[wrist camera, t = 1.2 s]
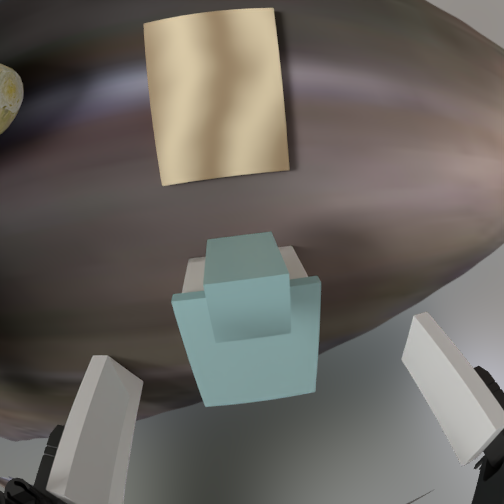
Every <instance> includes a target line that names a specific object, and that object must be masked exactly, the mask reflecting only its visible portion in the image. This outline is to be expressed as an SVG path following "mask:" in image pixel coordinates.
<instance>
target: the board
mask: <svg viewBox="0 0 504 504" xmlns="http://www.w3.org/2000/svg"><path fill="white" fill-rule="evenodd" d="M144 39H145V53H146V66H147V77H148V87H149V96H150V105H151V113H152V121H153V129H154V136H155V143H156V150H157V157H158V163H159V169H160V175H161V181H162V186H166V185H172V184H178V183H185V182H191V181H198V180H205V179H213V178H220V177H228V176H237V175H245V174H254V173H264V172H274V171H285V170H289V157H288V143H287V130H286V119H285V107H284V96H283V86H282V76H281V67H280V57H279V49H278V40H277V32H276V24H275V16H274V9H273V8H252V9H235V10H223V11H213V12H205V13H198V14H191V15H184V16H179V17H173V18H168V19H163V20H158V21H153V22H149V23H145V24H144Z"/></svg>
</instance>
